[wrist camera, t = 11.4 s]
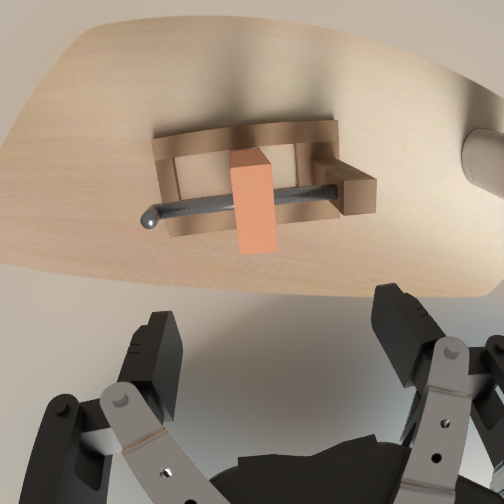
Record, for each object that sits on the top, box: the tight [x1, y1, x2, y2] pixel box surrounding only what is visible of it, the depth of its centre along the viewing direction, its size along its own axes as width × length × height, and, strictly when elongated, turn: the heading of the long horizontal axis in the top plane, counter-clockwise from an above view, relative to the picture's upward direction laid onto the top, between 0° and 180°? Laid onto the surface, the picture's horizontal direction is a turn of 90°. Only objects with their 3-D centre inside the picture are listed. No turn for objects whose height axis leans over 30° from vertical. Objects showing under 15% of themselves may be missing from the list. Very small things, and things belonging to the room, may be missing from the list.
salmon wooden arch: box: [230, 148, 277, 255], centre depth 27 cm, size 7×3×10 cm, turn 5°
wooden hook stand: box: [152, 120, 377, 237], centre depth 29 cm, size 21×12×12 cm, turn 96°
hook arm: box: [140, 184, 338, 229], centre depth 25 cm, size 17×1×3 cm, turn 96°
